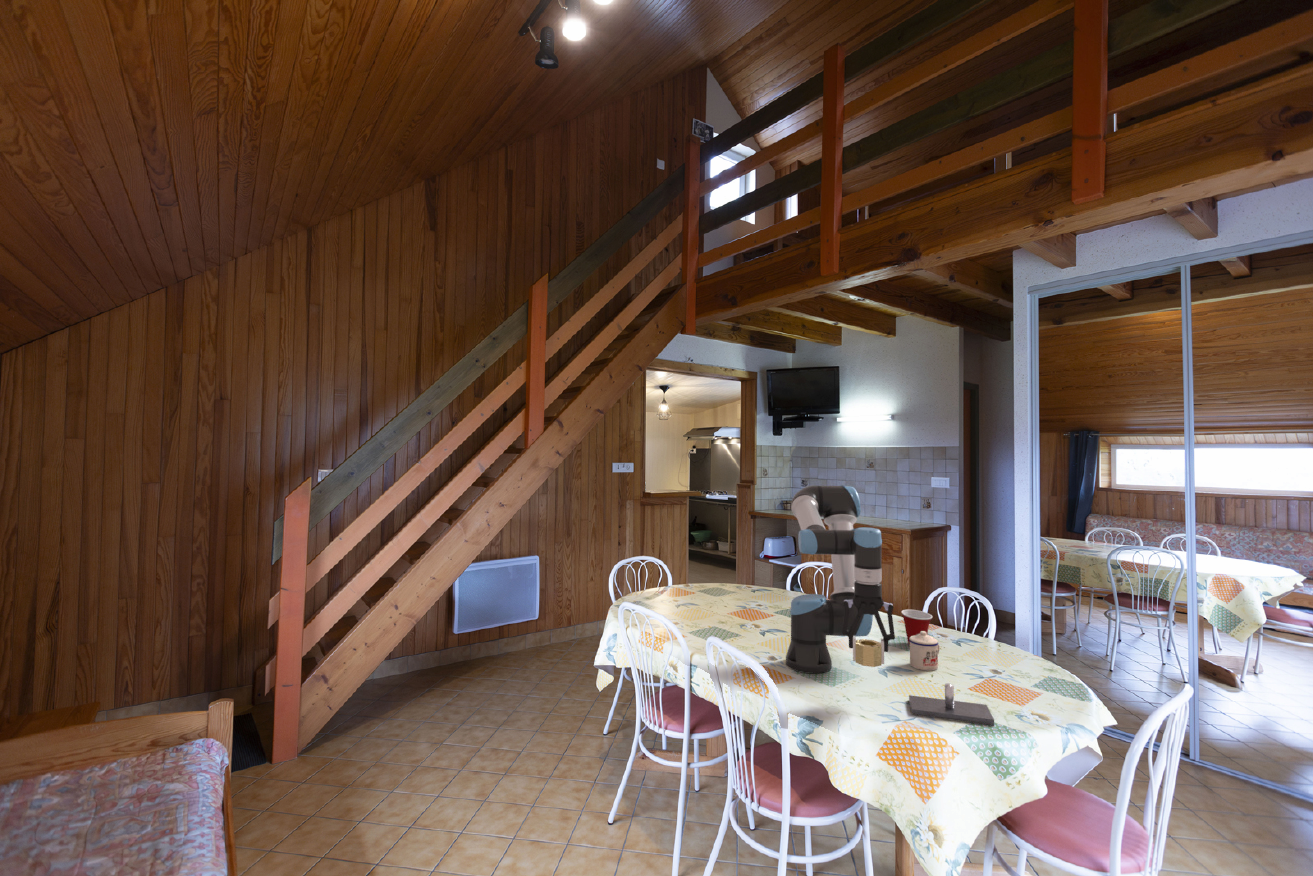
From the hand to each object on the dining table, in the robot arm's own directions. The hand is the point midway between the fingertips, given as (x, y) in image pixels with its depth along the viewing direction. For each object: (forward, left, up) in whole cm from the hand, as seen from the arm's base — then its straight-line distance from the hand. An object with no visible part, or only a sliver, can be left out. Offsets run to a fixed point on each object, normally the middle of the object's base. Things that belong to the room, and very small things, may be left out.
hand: (868, 660), depth 171 cm
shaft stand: (+21, -1, -12) cm, 24 cm away
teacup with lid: (+19, +37, -12) cm, 44 cm away
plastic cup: (+18, +60, -12) cm, 64 cm away
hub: (0, 0, 0) cm, 0 cm away
